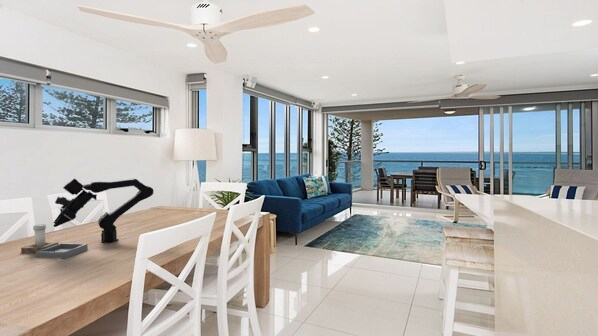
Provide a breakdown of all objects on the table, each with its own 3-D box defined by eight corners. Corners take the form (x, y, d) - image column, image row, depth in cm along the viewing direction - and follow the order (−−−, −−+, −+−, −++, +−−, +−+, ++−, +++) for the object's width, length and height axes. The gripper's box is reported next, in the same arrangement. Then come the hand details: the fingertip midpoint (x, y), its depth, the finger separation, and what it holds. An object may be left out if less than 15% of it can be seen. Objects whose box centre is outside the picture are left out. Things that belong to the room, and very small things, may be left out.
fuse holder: (58, 248, 160) (58, 242, 159) (41, 254, 150) (41, 248, 149) (39, 247, 160) (39, 241, 160) (21, 254, 150) (21, 247, 150)
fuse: (49, 248, 157) (48, 224, 157) (40, 251, 152) (39, 226, 152) (40, 248, 157) (39, 224, 157) (31, 251, 153) (30, 226, 152)
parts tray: (87, 249, 157) (87, 243, 157) (64, 258, 144) (64, 252, 143) (60, 248, 158) (60, 243, 158) (35, 258, 144) (35, 251, 144)
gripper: (66, 189, 168) (39, 212, 161) (66, 192, 153) (38, 217, 147) (84, 202, 173) (59, 225, 167) (86, 207, 158) (59, 232, 152)
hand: (54, 224), depth 158 cm, fingers open, 9 cm apart
